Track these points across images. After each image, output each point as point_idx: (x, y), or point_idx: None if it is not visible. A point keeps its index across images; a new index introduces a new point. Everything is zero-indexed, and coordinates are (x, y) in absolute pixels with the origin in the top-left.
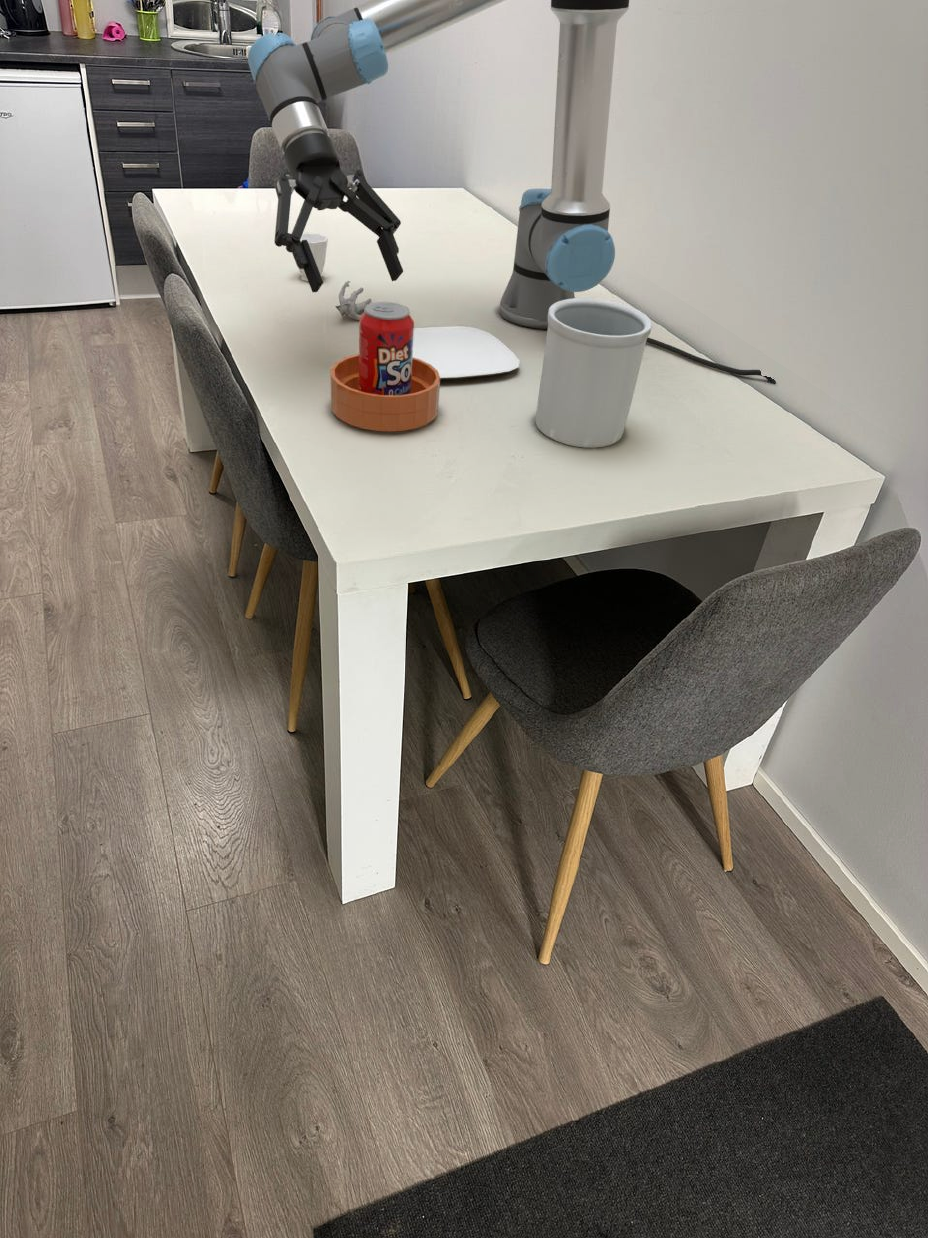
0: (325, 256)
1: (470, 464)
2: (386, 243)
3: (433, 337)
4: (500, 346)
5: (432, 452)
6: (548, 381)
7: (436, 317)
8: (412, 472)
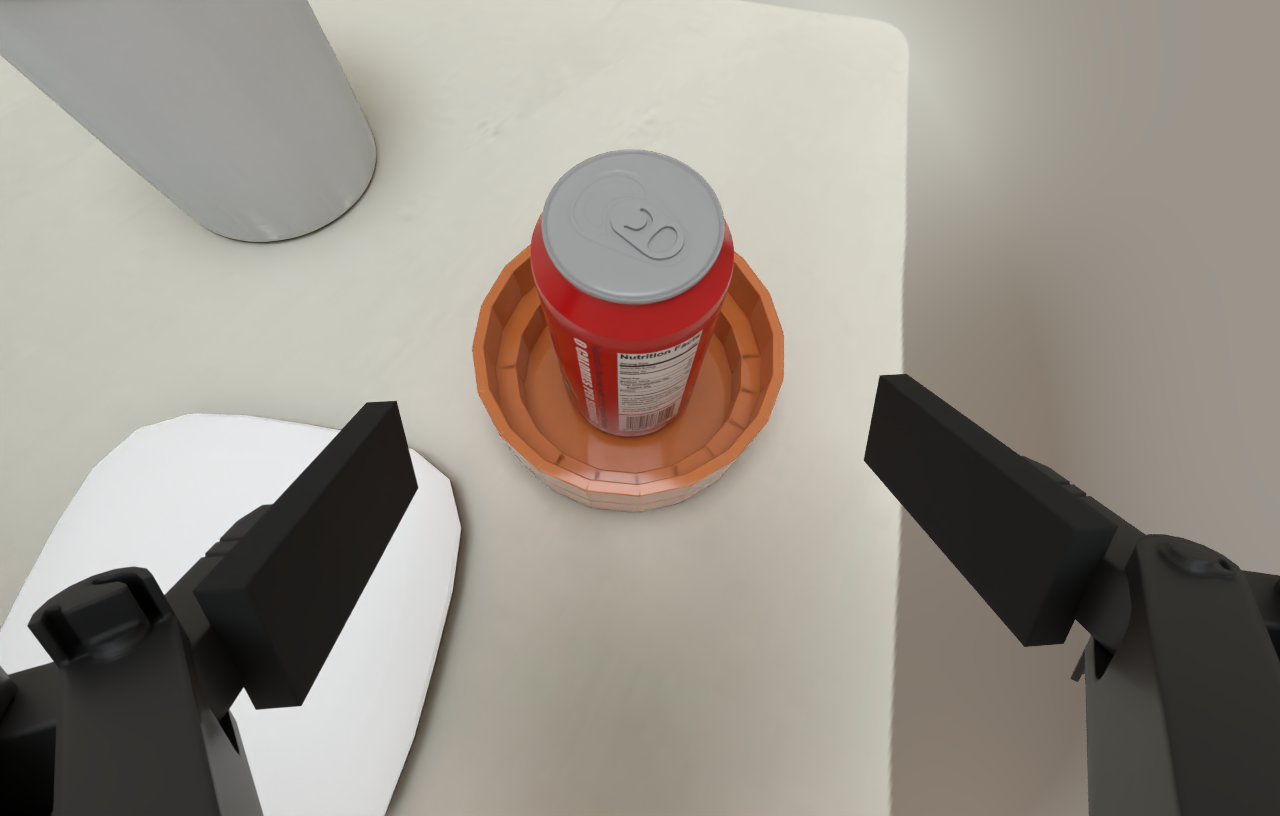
0: None
1: (589, 140)
2: (310, 536)
3: None
4: (47, 583)
5: None
6: (315, 63)
7: None
8: (704, 156)
